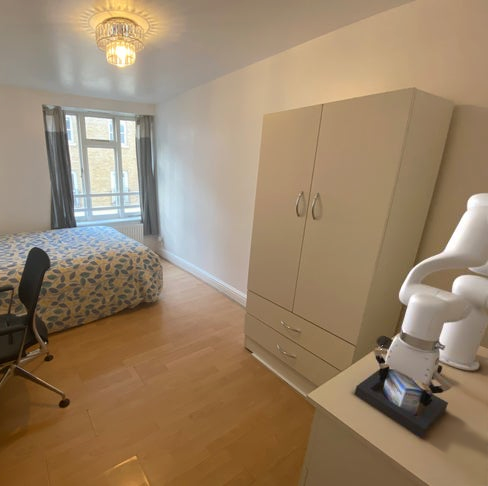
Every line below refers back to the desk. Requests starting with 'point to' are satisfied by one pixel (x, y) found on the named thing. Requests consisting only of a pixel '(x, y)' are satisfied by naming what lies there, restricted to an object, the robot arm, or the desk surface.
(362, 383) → the holder
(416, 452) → the desk surface
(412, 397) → the medicine box
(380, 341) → the hand tool
